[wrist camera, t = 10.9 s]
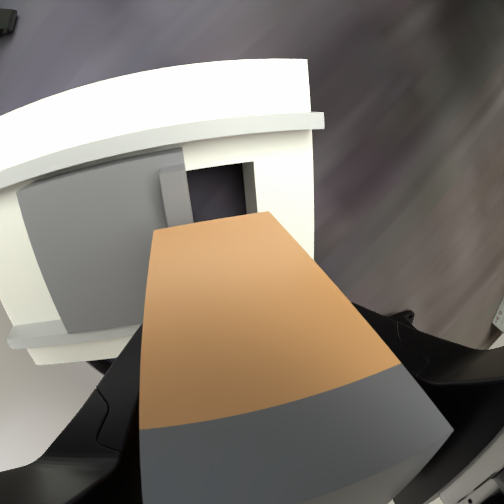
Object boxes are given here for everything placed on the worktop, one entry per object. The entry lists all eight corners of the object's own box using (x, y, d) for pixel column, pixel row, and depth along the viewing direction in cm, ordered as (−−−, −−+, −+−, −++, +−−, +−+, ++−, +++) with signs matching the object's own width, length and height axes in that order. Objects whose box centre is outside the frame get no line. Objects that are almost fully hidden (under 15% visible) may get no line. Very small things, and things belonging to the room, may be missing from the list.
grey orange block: (273, 304, 13) (381, 508, 5) (176, 323, 12) (211, 558, 4) (268, 210, 11) (454, 430, 3) (153, 230, 10) (145, 526, 2)
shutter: (204, 291, 17) (213, 330, 14) (75, 313, 16) (62, 352, 13) (182, 147, 14) (184, 156, 11) (32, 181, 12) (1, 201, 9)
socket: (296, 296, 23) (320, 333, 19) (46, 339, 20) (31, 380, 16) (286, 66, 16) (319, 55, 12) (-22, 134, 12) (-63, 144, 8)
